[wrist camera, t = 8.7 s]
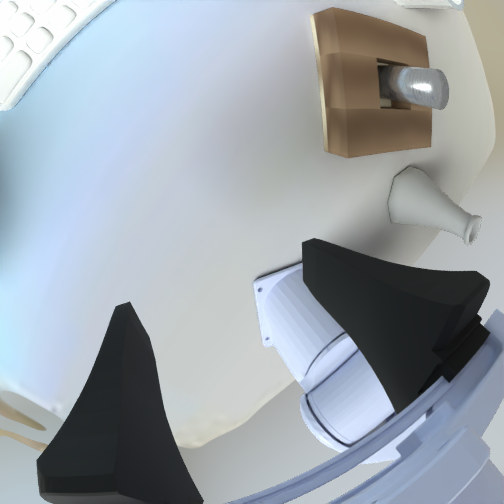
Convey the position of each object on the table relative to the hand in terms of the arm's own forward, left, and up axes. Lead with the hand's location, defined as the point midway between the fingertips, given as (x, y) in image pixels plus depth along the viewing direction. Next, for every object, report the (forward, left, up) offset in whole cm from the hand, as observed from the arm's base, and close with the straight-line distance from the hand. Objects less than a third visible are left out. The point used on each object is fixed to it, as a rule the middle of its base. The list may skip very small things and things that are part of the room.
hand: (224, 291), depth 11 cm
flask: (-5, -24, -11) cm, 27 cm away
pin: (+8, -18, -10) cm, 22 cm away
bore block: (+8, -18, -10) cm, 22 cm away
